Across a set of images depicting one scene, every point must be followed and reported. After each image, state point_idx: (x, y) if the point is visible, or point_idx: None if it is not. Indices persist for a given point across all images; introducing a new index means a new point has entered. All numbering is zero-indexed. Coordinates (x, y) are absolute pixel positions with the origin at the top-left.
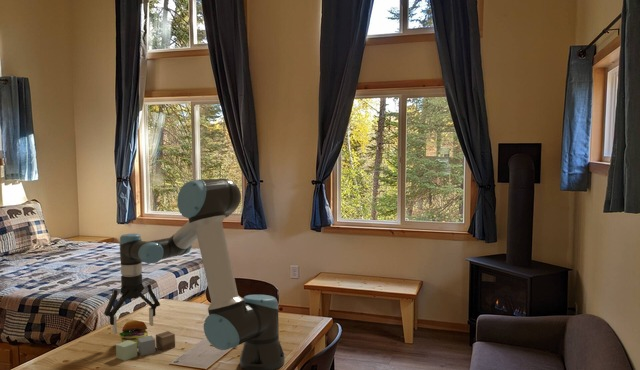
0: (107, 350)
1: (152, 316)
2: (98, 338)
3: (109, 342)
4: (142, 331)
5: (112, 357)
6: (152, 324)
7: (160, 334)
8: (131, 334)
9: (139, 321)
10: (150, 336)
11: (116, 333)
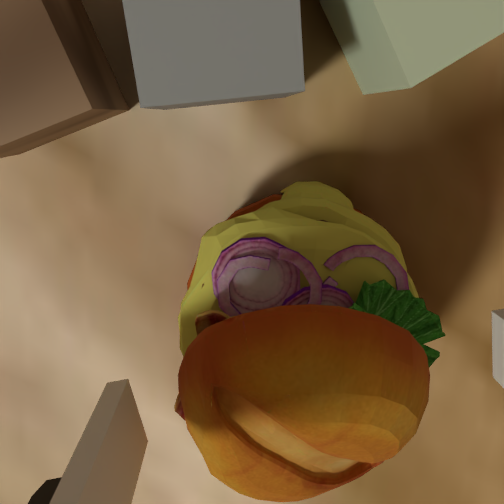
0: (495, 248)
1: (77, 462)
2: (493, 499)
3: (448, 400)
4: (228, 316)
5: (498, 61)
6: (112, 390)
7: (33, 86)
8: (339, 290)
9: (259, 400)
10: (156, 74)
11: (495, 311)
